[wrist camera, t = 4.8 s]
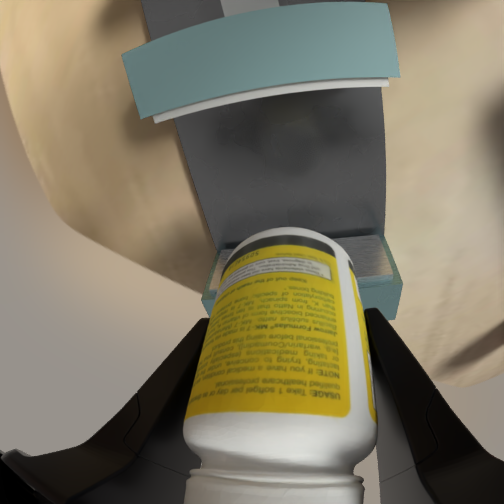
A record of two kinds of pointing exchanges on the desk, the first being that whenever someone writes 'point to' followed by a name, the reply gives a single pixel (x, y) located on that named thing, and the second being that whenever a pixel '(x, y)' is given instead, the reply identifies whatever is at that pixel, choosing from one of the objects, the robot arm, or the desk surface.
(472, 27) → the desk surface
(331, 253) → the supplement bottle
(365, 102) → the vise
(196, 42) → the vise jaw
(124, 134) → the desk surface
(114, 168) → the desk surface
